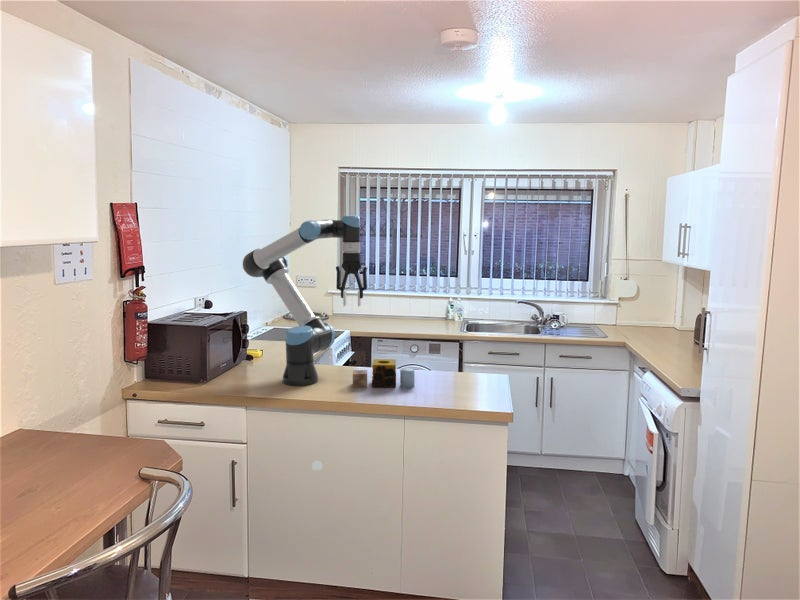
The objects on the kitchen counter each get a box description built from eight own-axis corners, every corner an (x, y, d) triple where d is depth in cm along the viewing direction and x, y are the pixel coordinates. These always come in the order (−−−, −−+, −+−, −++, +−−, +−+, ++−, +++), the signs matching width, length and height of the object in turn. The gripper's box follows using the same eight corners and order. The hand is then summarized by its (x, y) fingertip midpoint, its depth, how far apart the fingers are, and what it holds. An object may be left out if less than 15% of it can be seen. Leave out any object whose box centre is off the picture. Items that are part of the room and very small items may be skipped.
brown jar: (352, 388, 251) (352, 374, 250) (353, 383, 257) (353, 370, 256) (367, 387, 251) (367, 374, 250) (367, 383, 257) (367, 370, 256)
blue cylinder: (399, 387, 251) (399, 371, 250) (401, 383, 257) (401, 367, 255) (413, 388, 250) (413, 372, 249) (415, 384, 256) (415, 368, 255)
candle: (395, 388, 250) (395, 365, 249) (371, 388, 251) (371, 365, 249) (396, 381, 260) (396, 358, 259) (373, 381, 261) (373, 358, 259)
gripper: (327, 252, 252) (328, 306, 256) (371, 253, 250) (371, 307, 253) (332, 251, 259) (333, 303, 263) (374, 251, 257) (374, 304, 261)
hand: (352, 305), depth 258 cm, fingers open, 6 cm apart
